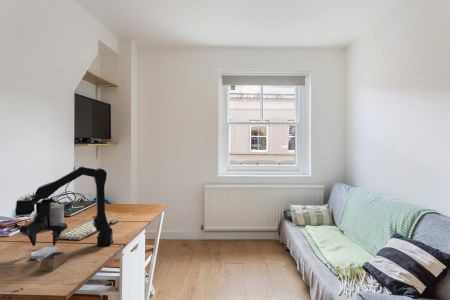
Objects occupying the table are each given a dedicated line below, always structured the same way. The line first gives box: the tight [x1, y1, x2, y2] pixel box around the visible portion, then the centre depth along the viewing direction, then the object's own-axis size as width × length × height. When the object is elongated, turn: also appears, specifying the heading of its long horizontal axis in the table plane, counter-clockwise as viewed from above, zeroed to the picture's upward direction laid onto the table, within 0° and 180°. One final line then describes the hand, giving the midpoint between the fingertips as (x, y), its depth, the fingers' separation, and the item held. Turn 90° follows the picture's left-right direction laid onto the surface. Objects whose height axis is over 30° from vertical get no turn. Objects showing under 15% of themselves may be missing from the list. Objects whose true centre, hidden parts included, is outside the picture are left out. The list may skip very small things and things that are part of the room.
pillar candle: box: [46, 203, 65, 231], centre depth 167 cm, size 10×10×15 cm
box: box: [40, 251, 66, 272], centre depth 114 cm, size 5×9×4 cm, turn 2°
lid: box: [29, 246, 59, 260], centre depth 125 cm, size 7×10×1 cm, turn 2°
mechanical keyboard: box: [57, 217, 120, 242], centre depth 163 cm, size 38×19×3 cm, turn 174°
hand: (44, 245), depth 125 cm, fingers open, 9 cm apart
